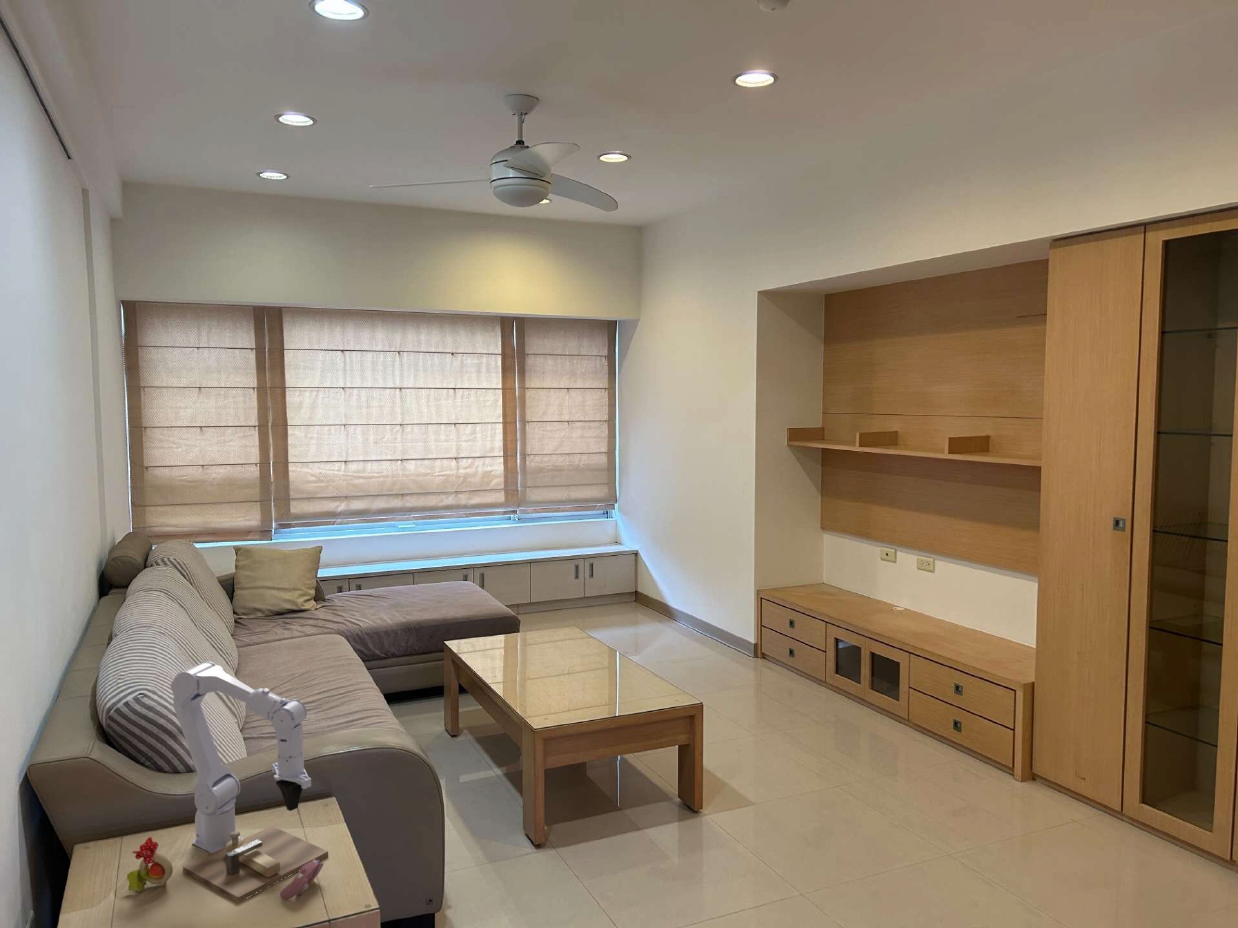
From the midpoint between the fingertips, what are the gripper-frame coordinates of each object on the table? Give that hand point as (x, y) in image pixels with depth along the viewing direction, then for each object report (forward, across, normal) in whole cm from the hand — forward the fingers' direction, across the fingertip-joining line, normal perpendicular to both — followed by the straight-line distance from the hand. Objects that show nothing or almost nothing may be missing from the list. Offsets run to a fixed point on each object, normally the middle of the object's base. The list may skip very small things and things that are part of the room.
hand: (292, 808), depth 210 cm
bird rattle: (+11, -10, -28) cm, 32 cm away
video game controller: (+11, +17, -7) cm, 21 cm away
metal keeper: (+9, 0, -12) cm, 15 cm away
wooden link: (+9, 0, -10) cm, 14 cm away
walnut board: (+10, -1, -9) cm, 14 cm away
